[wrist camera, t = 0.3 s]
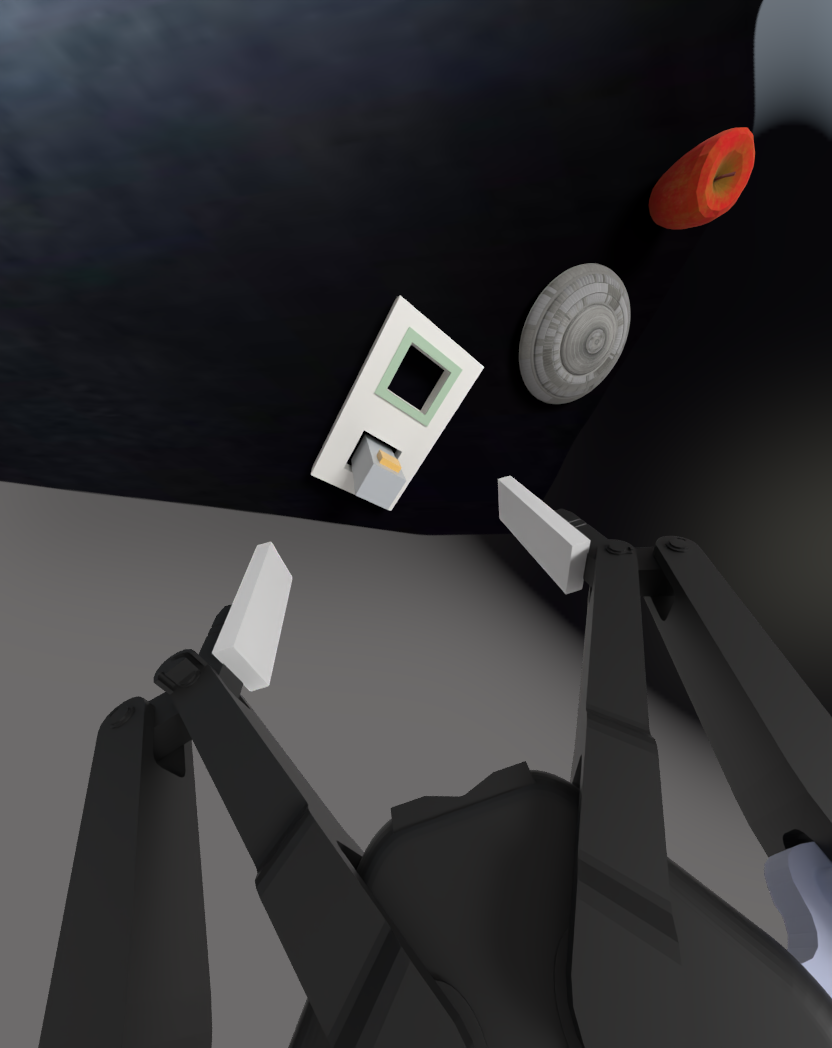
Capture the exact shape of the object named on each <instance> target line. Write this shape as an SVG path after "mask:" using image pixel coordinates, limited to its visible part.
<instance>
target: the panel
mask: <svg viewBox="0 0 832 1048" xmlns="http://www.w3.org/2000/svg"><path fill="white" fill-rule="evenodd" d="M410 345H412V346H414V347H415V348H416V349H418V350H419V351H420V352H421V353H423V354H424V355H425V356H427V357H428V358H429V359H430V360H432V361H433V362H434V363H436V364H437V365H438V366H439V367H441V368H442V369H443V370H444V372H443V374H442V375H441V377H440V379H439V380H438V382H437V384H436V385H435V387H434V389H433V390H432V392H431V394H430V395H429V397H428V399H427V400H426V402H425V404H424V405H423V407H422V409H421V410H418V409H417V408H415V407H414V406H412V405H411V404H409V403H408V402H406V401H405V400H403V399H402V398H400V397H399V396H397V395H396V394H394V393H393V392H391V391H390V390H388V389H387V388H388V386H389V384H390V382H391V380H392V379H393V377H394V375H395V373H396V371H397V369H398V367H399V366H400V364H401V362H402V360H403V358H404V356H405V355H406V353H407V351H408V349H409V347H410ZM483 368H484V367H483V366H482V365H481V364H480V363H479V362H478V361H476V360H475V359H474V358H473V357H472V356H471V355H469V354H468V353H467V352H466V351H465V350H464V349H462V348H461V347H460V346H459V345H458V344H456V343H455V342H454V341H453V340H452V339H451V338H449V337H448V336H447V335H446V334H445V333H444V332H442V331H441V330H440V329H439V328H438V327H437V326H435V325H434V324H433V323H432V322H431V321H430V320H428V319H427V318H426V317H425V316H424V315H423V314H421V313H420V312H419V311H418V310H417V309H416V308H414V307H413V306H412V305H411V304H410V303H408V302H407V301H406V300H405V299H404V298H403V297H401V296H398V297H397V298H396V299H395V301H394V303H393V305H392V307H391V309H390V311H389V313H388V315H387V317H386V319H385V321H384V323H383V325H382V327H381V329H380V331H379V333H378V335H377V338H376V340H375V342H374V344H373V346H372V348H371V350H370V352H369V354H368V356H367V358H366V360H365V362H364V364H363V366H362V368H361V370H360V372H359V374H358V376H357V378H356V380H355V382H354V384H353V386H352V388H351V390H350V392H349V394H348V396H347V398H346V400H345V402H344V404H343V406H342V408H341V410H340V412H339V414H338V416H337V418H336V420H335V422H334V424H333V426H332V428H331V430H330V432H329V434H328V436H327V438H326V440H325V442H324V444H323V446H322V448H321V450H320V452H319V454H318V456H317V459H316V461H315V463H314V465H313V467H312V470H311V475H312V476H314V477H317V478H319V479H321V480H323V481H325V482H328V483H330V484H332V485H334V486H337V487H339V488H341V489H343V490H345V491H348V492H350V493H352V494H354V495H355V488H354V479H353V471H352V466H351V465H349V464H347V461H348V459H349V457H350V455H351V454H352V452H353V450H354V448H355V446H356V444H357V442H358V441H359V439H360V437H361V435H362V433H363V431H366V432H368V433H370V434H371V435H373V436H375V437H377V438H379V439H380V440H382V441H384V442H386V443H387V444H389V445H391V446H393V447H394V448H396V449H397V450H396V452H395V454H394V455H395V457H396V459H398V461H399V463H400V465H401V467H402V468H401V470H402V472H403V474H404V476H405V478H406V480H407V481H406V482H405V484H404V485H403V487H402V489H401V490H400V492H399V493H398V495H397V496H396V498H395V500H394V501H393V503H392V504H391V506H390V507H389V509H388V510H390V511H391V510H392V509H393V507H394V506H395V504H396V502H397V501H398V499H399V498H400V496H401V495H402V493H403V492H404V490H405V489H406V487H407V485H408V484H409V482H410V481H411V479H412V478H413V476H414V475H415V473H416V472H417V470H418V468H419V467H420V465H421V464H422V462H423V461H424V459H425V458H426V456H427V455H428V453H429V451H430V450H431V448H432V447H433V445H434V444H435V442H436V441H437V439H438V438H439V436H440V434H441V433H442V431H443V430H444V428H445V427H446V425H447V424H448V422H449V421H450V419H451V417H452V416H453V414H454V413H455V411H456V410H457V408H458V407H459V405H460V404H461V402H462V400H463V399H464V397H465V396H466V394H467V393H468V391H469V390H470V388H471V387H472V385H473V384H474V382H475V380H476V379H477V377H478V376H479V374H480V373H481V371H482V370H483Z"/></svg>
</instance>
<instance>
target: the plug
mask: <svg viewBox="0 0 832 1048" xmlns="http://www.w3.org/2000/svg"><path fill="white" fill-rule="evenodd" d="M351 462H352V471H353V479H354V488H355V495H356V496H358V497H360V498H363V499H365V500H367V501H369V502H371V503H374V504H376V505H378V506H380V507H383V508H385V509H387V510H388V509H389V507H390V506H391V504H392V503H393V501H394V500H395V498H396V496H397V495H398V493H399V492H400V490H401V489H402V487H403V485H404V484H405V482H406V481H407V480H406V478H405V476H404V474H403V472H402V470H401V468H402V467H401V465H400V463H399V461H398V459H396V457H395V455H394V453H393V451H392V449H391V448H390V447H388V446H386V445H384V444H383V443H381V442H379V441H377V440H376V439H374V438H372V437H370V436H368V435H367V434H365V435H364V437H363V439H362V440H361V442H360V444H359V446H358V448H357V450H356V451H355V453H354V455H353V457H352V459H351Z"/></svg>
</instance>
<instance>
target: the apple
mask: <svg viewBox="0 0 832 1048" xmlns="http://www.w3.org/2000/svg"><path fill="white" fill-rule="evenodd" d="M754 158H755V150H754V141H753V134H752V133H751V132H750V130H749V129H748V128H732V129H729V130H726V131H723V132H721V133H719V134H717V135H715V136H713V137H711V138H709V139H707V140H706V141H704V142H702V143H701V144H699V145H698V146H696V147H695V148H694V149H692V150H691V151H689V152H688V153H686V154H685V155H684V156H683V157H682V158H680V159H679V160H678V161H677V162H676V163H675V164H674V165H672V166H671V167H670V168H669V169H668V170H667V172H666V173H665V174H664V175H663V176H662V177H661V178H660V179H659V180H658V182H657V183H656V185H655V186H654V188H653V189H652V192H651V196H650V199H649V211H650V215H651V217H652V219H653V221H654V222H655V223H656V224H657V225H660V226H662V227H664V228H667V229H685V228H690V227H695V226H700V225H703V224H705V223H708V222H710V221H712V220H714V219H715V218H717V217H719V216H720V215H722V214H724V213H725V212H727V211H728V210H729V209H730V208H731V206H733V205H734V203H735V202H736V201H737V199H738V197H739V196H740V194H741V192H742V191H743V189H744V187H745V186H746V184H747V182H748V179H749V177H750V174H751V171H752V169H753V166H754Z"/></svg>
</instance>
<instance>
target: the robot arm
mask: <svg viewBox="0 0 832 1048" xmlns="http://www.w3.org/2000/svg"><path fill="white" fill-rule="evenodd" d="M498 494H499V519H500V520H501V521H502V522H503V523H504V524H505V525H506V526H507V528H508V529H509V530H510V531H511V532H512V533H513V534H514V536H515V537H516V538H517V539H518V540H519V541H520V542H521V543H522V545H523V546H524V547H525V548H526V549H527V550H528V552H529V553H530V554H531V555H532V556H533V557H534V558H535V559H536V561H537V562H538V563H539V564H540V565H541V566H542V568H543V569H544V570H545V571H546V572H547V573H548V574H549V576H550V577H551V578H552V579H553V580H554V581H555V582H556V583H557V585H558V586H559V587H560V588H561V589H562V590H563V591H564V593H565V594H568V593H571V592H574V591H577V590H581V589H582V586H583V580H585V581H586V582H587V583H588V584H589V585H590V589H589V594H588V599H587V603H588V610H587V620H586V630H585V641H584V652H583V663H582V675H581V685H580V697H579V708H578V718H577V729H576V740H575V750H574V757H573V763H572V771H571V780H570V782H568V781H566V780H565V779H562V778H560V777H558V776H556V775H554V774H550V773H547V772H543V771H538V770H529V768H528V765H527V763H526V761H525V762H522V763H519V764H516V765H514V766H511V767H507V768H505V769H502V770H499V771H496V772H493V773H492V774H491V775H490V776H488V777H487V778H486V779H485V780H483V781H482V782H481V783H479V784H478V785H477V786H476V787H474V788H473V789H472V790H470V791H469V792H468V793H467V794H466V795H463V796H460V797H449V796H445V797H444V796H424V797H421V798H418V799H415V800H412V801H410V802H407V803H404V804H401V805H398V806H395V807H392V808H391V815H392V819H391V820H389V821H388V822H387V823H386V824H385V825H384V826H383V827H382V828H381V829H380V830H379V831H378V833H377V834H376V835H375V836H374V838H373V839H372V841H371V842H370V844H369V845H368V847H367V849H366V850H365V852H363V851H362V850H361V849H360V847H359V846H358V845H357V844H356V843H355V841H354V840H353V839H352V838H351V837H350V836H349V835H348V834H347V833H346V832H345V831H344V829H343V828H342V827H341V825H340V824H339V823H338V822H337V820H336V819H335V818H334V816H333V815H332V814H331V812H330V811H329V810H328V808H327V807H326V806H325V804H324V803H323V802H322V800H321V799H320V798H319V796H318V795H317V794H316V793H315V791H314V790H313V789H312V787H311V786H310V785H309V783H308V782H307V781H306V779H305V778H304V777H303V775H302V774H301V773H300V771H299V770H298V769H297V767H296V766H295V765H294V763H293V762H292V761H291V759H290V758H289V757H288V755H287V754H286V753H285V752H284V750H283V749H282V748H281V746H280V745H279V744H278V742H277V741H276V740H275V738H274V737H273V736H272V734H271V733H270V732H269V730H268V729H267V728H266V726H265V725H264V724H263V722H262V721H261V720H260V719H259V717H258V716H257V714H256V713H255V712H254V711H253V709H252V708H251V707H250V705H249V704H248V703H247V701H246V700H245V699H244V698H243V696H241V695H240V692H241V689H242V686H243V685H244V686H245V687H246V688H247V689H248V690H249V691H250V692H251V691H254V690H257V689H260V688H264V687H267V686H269V683H270V678H271V674H272V670H273V665H274V661H275V656H276V651H277V647H278V642H279V638H280V633H281V628H282V624H283V619H284V614H285V610H286V605H287V601H288V596H289V591H290V586H291V582H292V576H291V574H290V572H289V571H288V569H287V567H286V566H285V564H284V562H283V561H282V559H281V557H280V555H279V554H278V552H277V550H276V549H275V547H274V545H273V544H272V542H268V543H264V544H261V545H257V547H256V550H255V552H254V554H253V557H252V559H251V561H250V564H249V566H248V568H247V571H246V573H245V576H244V578H243V581H242V583H241V585H240V587H239V590H238V592H237V594H236V597H235V599H234V601H233V604H232V605H228V606H225V607H224V608H223V609H222V610H221V611H220V613H219V614H218V615H217V616H216V618H215V620H214V622H213V625H212V628H211V629H210V631H209V633H208V636H207V637H206V640H205V642H204V644H203V646H202V648H201V650H200V653H199V655H198V654H197V653H196V652H195V651H193V650H192V649H186V650H183V651H180V652H177V653H176V654H174V655H173V656H171V657H170V658H168V659H167V660H166V661H165V662H164V663H163V664H162V665H161V666H160V667H159V669H158V670H157V671H156V673H155V676H154V683H155V684H156V685H158V686H159V687H160V688H162V689H163V690H164V691H166V692H165V693H163V694H161V695H160V696H157V697H156V698H154V699H152V700H150V701H147V700H145V699H144V698H142V697H134V698H131V699H129V700H127V701H125V702H123V703H122V704H120V705H119V706H118V707H116V708H115V709H114V710H113V711H112V712H111V713H110V714H109V715H108V716H107V717H106V719H105V720H104V721H103V723H102V724H101V726H100V729H99V731H98V736H97V741H96V746H95V751H94V757H93V762H92V767H91V772H90V778H89V783H88V788H87V794H86V799H85V804H84V810H83V815H82V821H81V825H80V831H79V836H78V842H77V846H76V852H75V857H74V862H73V868H72V873H71V879H70V883H69V889H68V894H67V899H66V905H65V910H64V915H63V921H62V926H61V931H60V937H59V942H58V948H57V952H56V958H55V963H54V968H53V973H52V979H51V985H50V990H49V994H48V1000H47V1005H46V1011H45V1016H44V1021H43V1026H42V1031H41V1037H40V1043H39V1047H38V1048H211V1045H212V1044H211V1043H212V1013H211V990H210V976H209V964H208V950H207V937H206V924H205V912H204V898H203V886H202V872H201V858H200V847H199V846H200V845H199V832H198V819H197V806H196V793H195V780H194V767H193V754H192V742H191V740H193V742H194V744H195V746H196V748H197V750H198V752H199V754H200V756H201V758H202V760H203V762H204V764H205V766H206V768H207V770H208V772H209V774H210V776H211V778H212V780H213V782H214V784H215V786H216V788H217V789H218V792H219V794H220V796H221V798H222V800H223V801H224V804H225V806H226V808H227V810H228V812H229V814H230V816H231V818H232V820H233V822H234V824H235V826H236V828H237V830H238V832H239V834H240V836H241V837H242V840H243V842H244V843H245V846H246V848H247V850H248V852H249V854H250V856H251V858H252V860H253V862H254V864H255V866H256V868H257V873H258V874H257V876H256V879H255V884H256V889H257V891H258V894H259V896H260V899H261V901H262V903H263V905H264V907H265V909H266V911H267V913H268V915H269V918H270V920H271V922H272V924H273V926H274V928H275V930H276V932H277V935H278V936H279V939H280V941H281V943H282V945H283V947H284V949H285V951H286V953H287V955H288V958H289V960H290V962H291V964H292V966H293V968H294V970H295V972H296V974H297V976H298V978H299V981H300V983H301V985H302V987H303V989H304V991H305V993H306V995H307V997H308V998H307V1000H306V1003H305V1006H304V1008H303V1011H302V1013H301V1016H300V1019H299V1021H298V1024H297V1026H296V1029H295V1032H294V1034H293V1037H292V1039H291V1043H290V1045H289V1047H288V1048H832V717H831V716H830V715H829V713H828V712H827V711H826V710H825V708H824V707H823V706H822V704H821V703H820V702H819V701H818V699H817V698H816V697H815V695H814V694H813V693H812V692H811V690H810V689H809V688H808V686H807V685H806V684H805V683H804V681H803V680H802V679H801V677H800V676H799V675H798V673H797V672H796V671H795V670H794V668H793V667H792V666H791V664H790V663H789V662H788V661H787V659H786V658H785V657H784V656H783V654H782V653H781V652H780V650H779V649H778V648H777V646H776V645H775V644H774V643H773V641H772V640H771V639H770V637H769V636H768V635H767V633H766V632H765V631H764V630H763V628H762V627H761V626H760V624H759V623H758V622H757V621H756V619H755V618H754V617H753V615H752V614H751V613H750V612H749V610H748V609H747V608H746V607H745V605H744V604H743V603H742V601H741V600H740V599H739V598H738V596H737V595H736V594H735V592H734V591H733V590H732V588H731V587H730V586H729V585H728V583H727V582H726V581H725V579H724V578H723V577H722V575H721V574H720V573H719V572H718V570H717V569H716V568H715V567H714V565H713V564H712V563H711V561H710V560H709V559H708V557H707V556H706V555H705V554H704V552H703V551H702V550H701V548H700V547H699V546H698V545H697V544H696V543H694V542H693V541H690V540H688V539H686V538H682V537H678V536H664V537H661V538H659V539H658V540H657V542H656V544H655V547H642V548H634V547H633V546H632V545H631V544H629V543H626V542H624V541H620V540H608V539H606V538H605V537H604V536H603V535H601V534H600V533H599V532H597V531H596V530H595V529H593V528H592V527H591V526H589V525H588V524H586V523H585V522H584V521H583V520H580V518H579V517H578V516H576V515H575V514H573V513H572V512H569V511H567V510H564V509H560V510H556V511H553V510H552V509H551V508H550V507H549V506H547V505H546V504H545V503H544V502H542V501H541V500H540V499H539V498H537V497H536V496H535V495H534V494H533V493H531V492H530V491H529V490H528V489H526V488H525V487H524V486H523V485H521V484H520V483H519V482H518V481H516V480H515V479H514V478H513V477H511V476H507V477H504V478H500V479H498ZM640 597H644V598H645V601H646V603H647V605H648V607H649V609H650V612H651V614H652V616H653V618H654V620H655V623H656V625H657V627H658V629H659V631H660V634H661V636H662V638H663V640H664V642H665V645H666V647H667V649H668V651H669V653H670V655H671V658H672V660H673V662H674V664H675V666H676V669H677V671H678V673H679V675H680V678H681V680H682V682H683V684H684V686H685V689H686V691H687V693H688V695H689V697H690V700H691V702H692V704H693V706H694V708H695V710H696V713H697V715H698V717H699V719H700V721H701V724H702V726H703V728H704V730H705V732H706V735H707V737H708V739H709V741H710V743H711V746H712V748H713V750H714V752H715V754H716V757H717V759H718V761H719V763H720V765H721V768H722V770H723V772H724V774H725V776H726V779H727V781H728V783H729V785H730V787H731V790H732V792H733V794H734V796H735V798H736V800H737V802H738V804H739V806H740V808H741V810H742V812H743V814H744V816H745V818H746V820H747V822H748V824H749V826H750V827H751V829H752V831H753V832H754V834H755V836H756V837H757V839H758V841H759V842H760V844H761V845H762V847H763V849H764V850H765V852H766V854H767V855H768V857H769V858H768V859H767V861H766V863H765V868H764V869H765V870H764V875H765V879H766V883H767V886H768V889H769V891H770V894H771V897H772V900H773V903H774V905H775V906H776V908H777V909H778V911H779V912H780V913H781V915H782V917H783V919H784V923H785V926H786V930H787V933H788V949H787V950H786V949H785V948H784V947H782V945H780V944H779V943H778V942H777V941H775V939H773V938H772V937H771V936H770V935H768V934H767V933H766V932H764V931H763V930H762V929H761V928H759V927H758V926H757V925H755V924H754V923H753V922H751V921H750V920H749V919H747V918H746V917H745V916H743V915H742V914H741V913H740V912H738V911H737V910H736V909H735V908H733V907H732V906H730V905H729V904H728V903H727V902H725V901H724V900H723V899H722V898H720V897H719V896H717V895H716V894H715V893H714V892H712V891H711V890H710V889H709V888H707V887H706V886H705V885H703V884H702V883H701V882H699V881H698V880H697V879H695V878H694V877H693V876H691V875H690V874H689V873H688V872H686V871H685V870H684V869H683V868H681V867H680V866H679V865H677V864H676V863H675V862H673V861H672V860H671V859H669V858H668V857H667V853H666V842H665V829H664V817H663V805H662V794H661V782H660V770H659V758H658V750H657V744H656V741H655V739H654V738H653V737H652V736H651V734H650V731H649V719H648V704H647V690H646V676H645V661H644V647H643V632H642V618H641V604H640Z"/></svg>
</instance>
